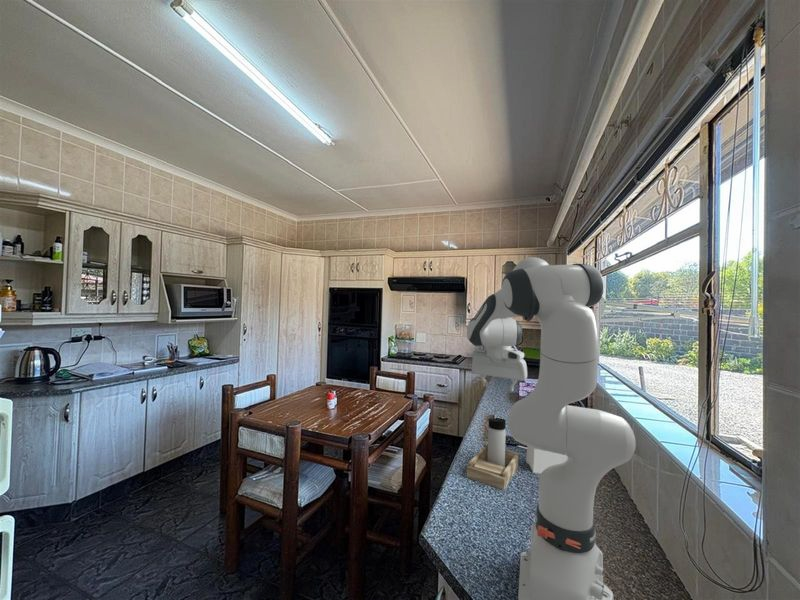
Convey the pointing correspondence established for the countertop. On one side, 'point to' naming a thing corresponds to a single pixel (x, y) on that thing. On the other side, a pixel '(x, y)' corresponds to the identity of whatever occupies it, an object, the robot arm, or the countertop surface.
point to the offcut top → (489, 468)
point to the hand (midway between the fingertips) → (497, 388)
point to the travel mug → (496, 441)
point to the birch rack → (488, 477)
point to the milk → (542, 459)
